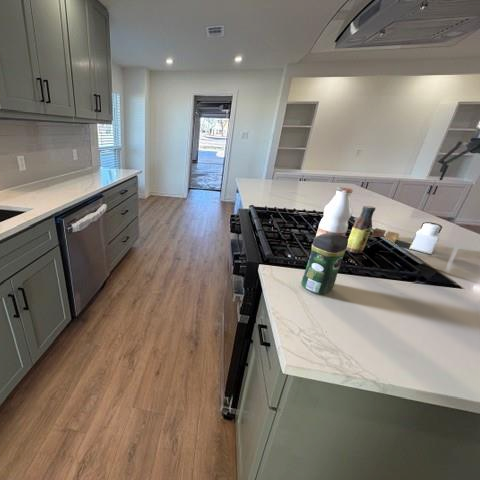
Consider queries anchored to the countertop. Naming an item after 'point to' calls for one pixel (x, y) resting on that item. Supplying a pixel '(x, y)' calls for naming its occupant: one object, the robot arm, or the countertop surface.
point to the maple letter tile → (392, 236)
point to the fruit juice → (337, 213)
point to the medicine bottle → (426, 237)
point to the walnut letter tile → (378, 233)
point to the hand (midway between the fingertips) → (462, 182)
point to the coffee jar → (324, 262)
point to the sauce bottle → (361, 230)
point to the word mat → (404, 245)
